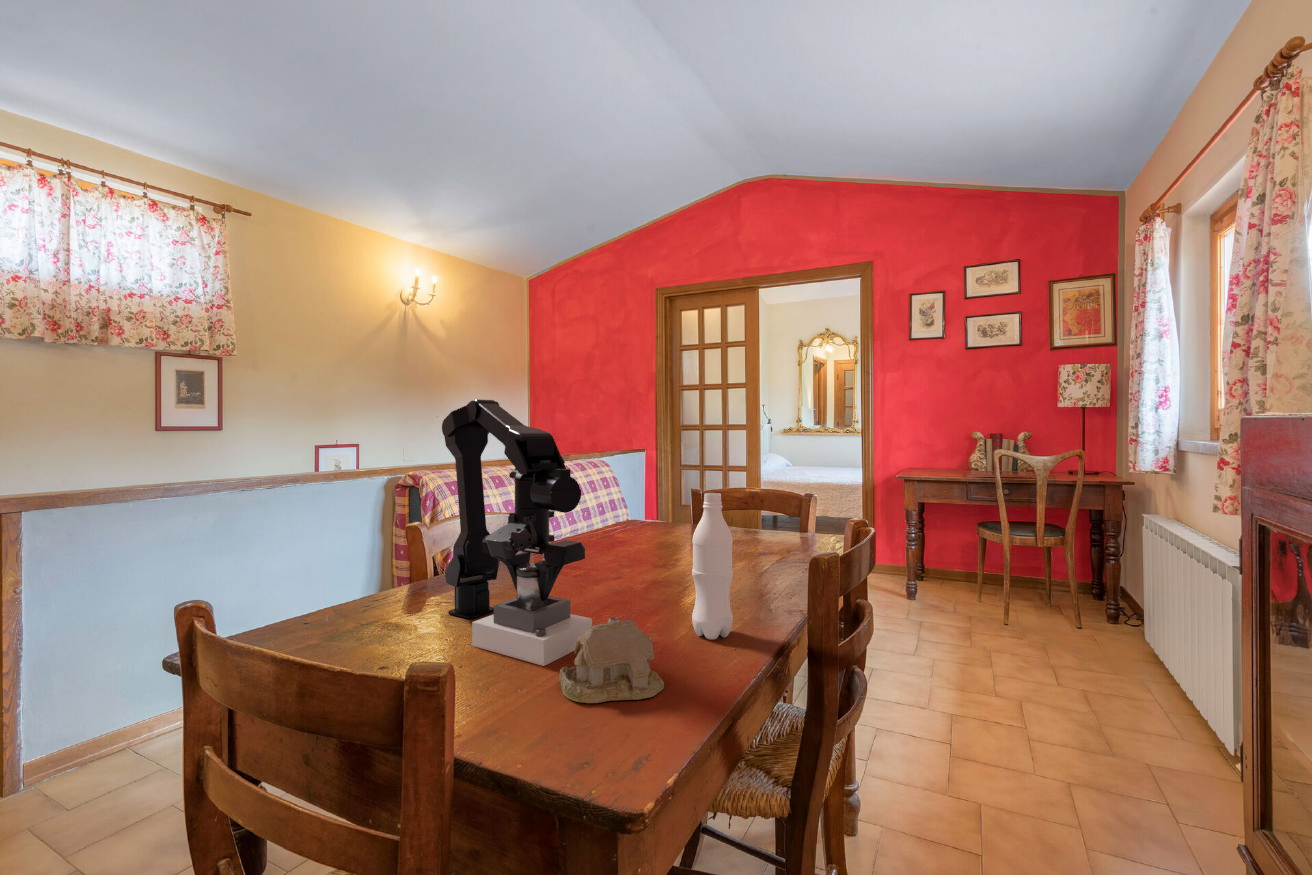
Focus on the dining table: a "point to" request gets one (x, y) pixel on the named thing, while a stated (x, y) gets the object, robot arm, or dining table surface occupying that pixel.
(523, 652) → the tray on white base
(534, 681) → the dining table surface
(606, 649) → the ceramic model
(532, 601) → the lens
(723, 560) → the water bottle
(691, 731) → the dining table surface
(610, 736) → the dining table surface
